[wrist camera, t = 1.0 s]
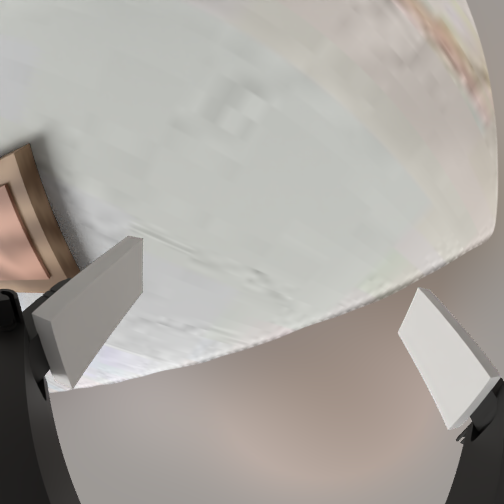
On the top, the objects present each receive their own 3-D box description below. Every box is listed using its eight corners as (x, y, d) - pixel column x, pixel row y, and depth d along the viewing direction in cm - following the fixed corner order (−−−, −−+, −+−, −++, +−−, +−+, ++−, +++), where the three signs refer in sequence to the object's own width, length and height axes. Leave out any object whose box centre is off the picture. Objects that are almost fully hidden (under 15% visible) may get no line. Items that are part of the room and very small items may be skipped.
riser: (-42, 181, 23) (-55, 192, 20) (29, 143, 22) (11, 154, 19) (6, 280, 35) (-4, 293, 32) (83, 277, 34) (74, 295, 32)
